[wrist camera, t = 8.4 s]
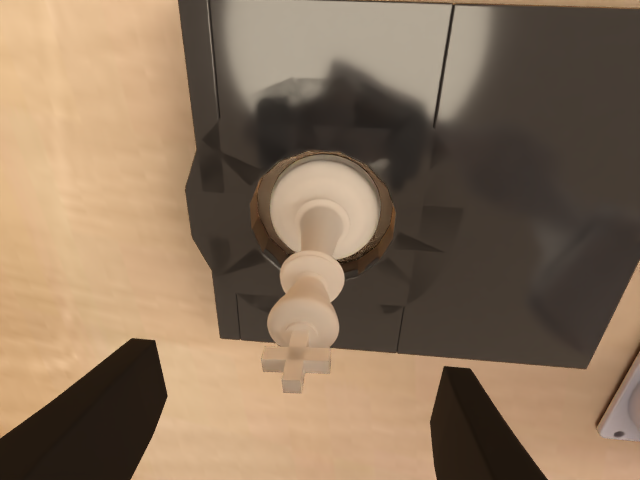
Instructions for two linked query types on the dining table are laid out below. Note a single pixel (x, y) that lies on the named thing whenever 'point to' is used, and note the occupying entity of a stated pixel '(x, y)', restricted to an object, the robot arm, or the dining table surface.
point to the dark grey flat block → (428, 165)
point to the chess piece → (315, 258)
